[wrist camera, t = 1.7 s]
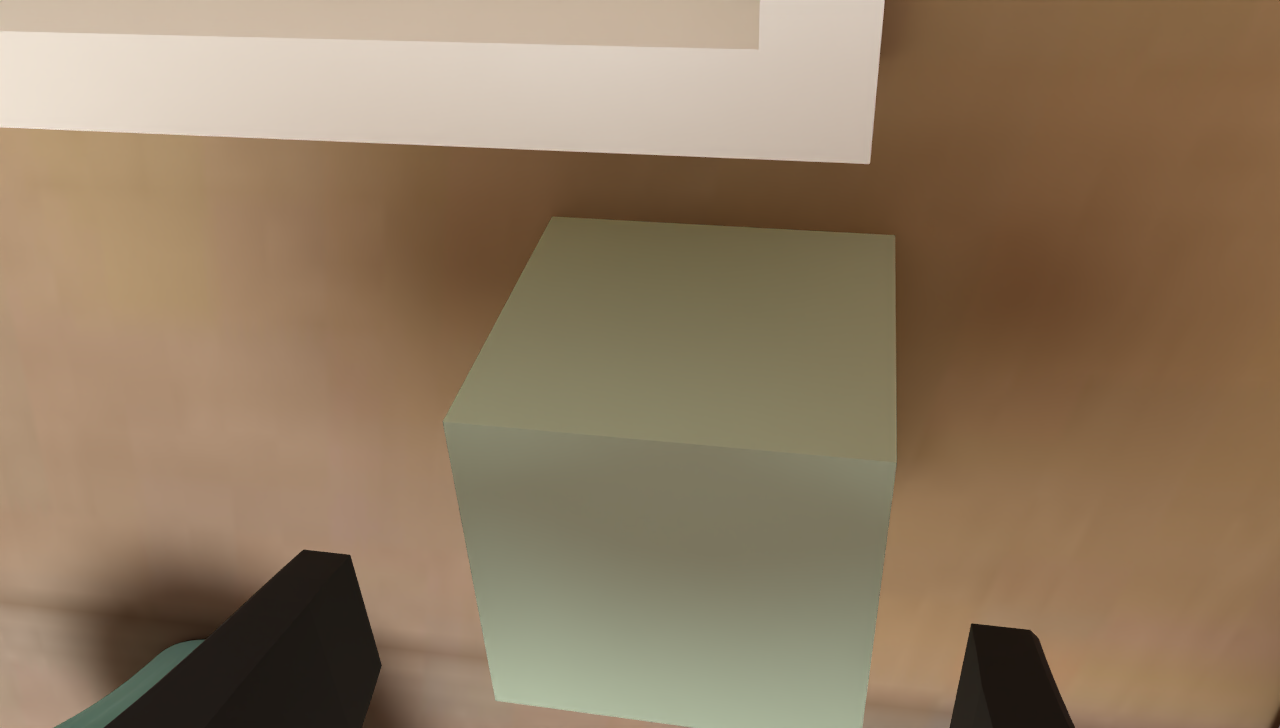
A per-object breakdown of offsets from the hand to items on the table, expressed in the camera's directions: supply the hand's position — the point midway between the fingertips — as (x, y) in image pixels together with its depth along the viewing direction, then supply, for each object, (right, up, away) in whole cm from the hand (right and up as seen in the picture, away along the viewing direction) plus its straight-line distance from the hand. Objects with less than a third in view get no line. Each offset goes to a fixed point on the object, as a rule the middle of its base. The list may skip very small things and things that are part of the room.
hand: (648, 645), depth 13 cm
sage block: (+1, +3, +5) cm, 6 cm away
